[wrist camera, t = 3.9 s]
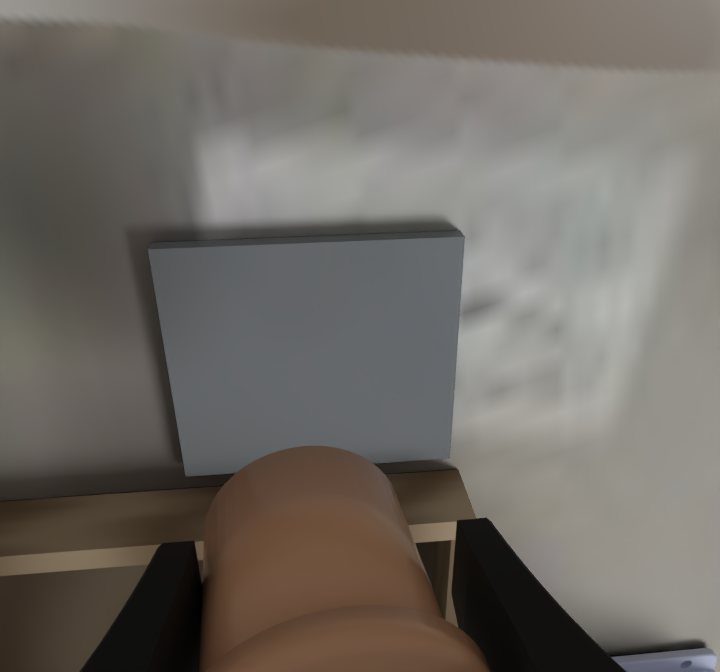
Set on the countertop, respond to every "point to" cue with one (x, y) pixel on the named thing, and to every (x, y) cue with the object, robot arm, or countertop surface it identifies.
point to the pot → (319, 574)
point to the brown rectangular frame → (134, 552)
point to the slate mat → (310, 344)
